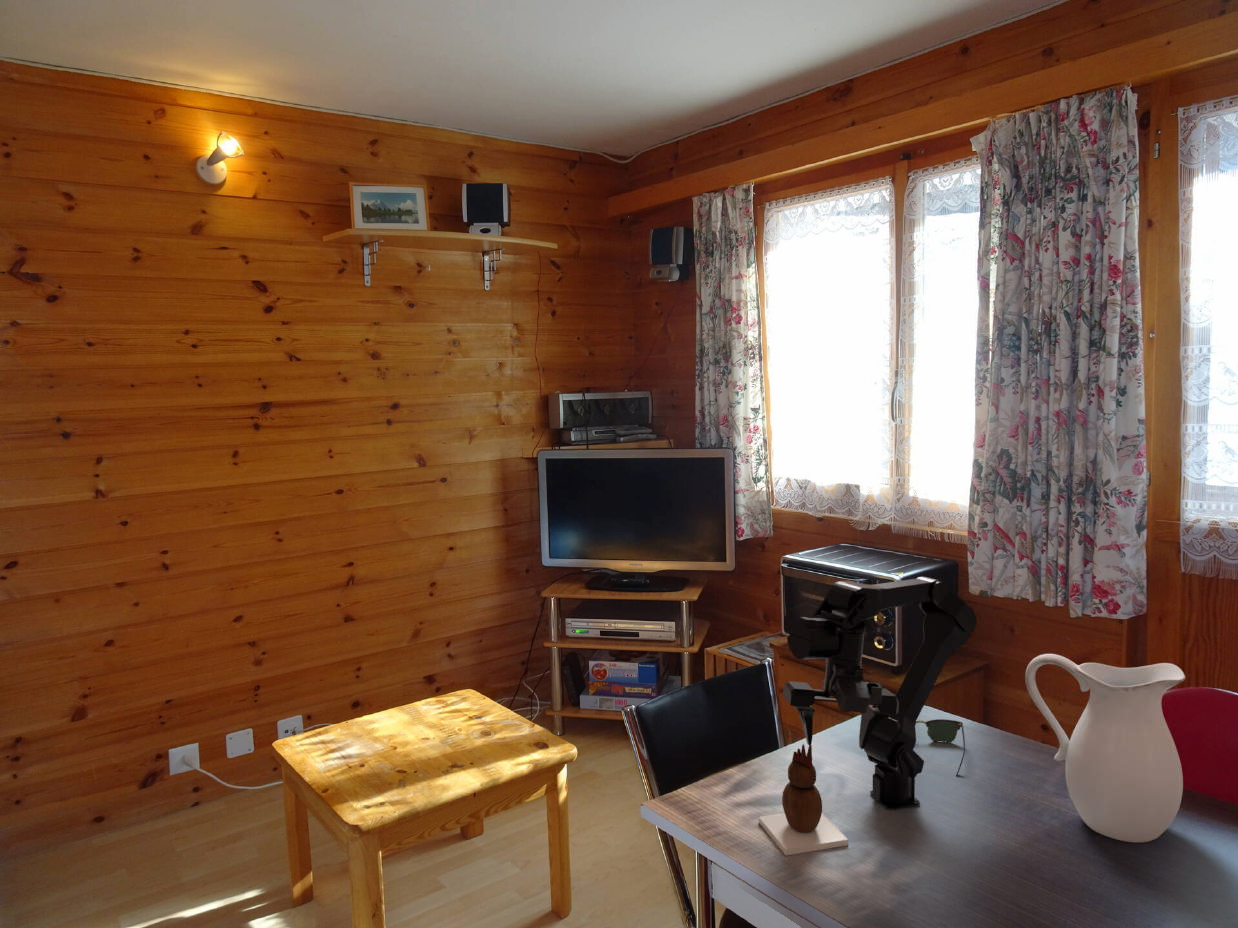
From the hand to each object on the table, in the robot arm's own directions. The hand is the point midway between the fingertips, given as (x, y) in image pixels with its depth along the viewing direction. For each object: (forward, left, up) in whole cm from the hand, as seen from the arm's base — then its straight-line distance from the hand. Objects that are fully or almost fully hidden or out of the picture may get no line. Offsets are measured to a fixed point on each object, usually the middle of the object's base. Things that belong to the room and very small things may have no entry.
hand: (835, 746), depth 150 cm
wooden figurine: (+7, +3, -12) cm, 15 cm away
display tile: (+8, +3, -13) cm, 15 cm away
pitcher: (-42, +13, -13) cm, 46 cm away
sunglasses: (-29, -18, -14) cm, 37 cm away
